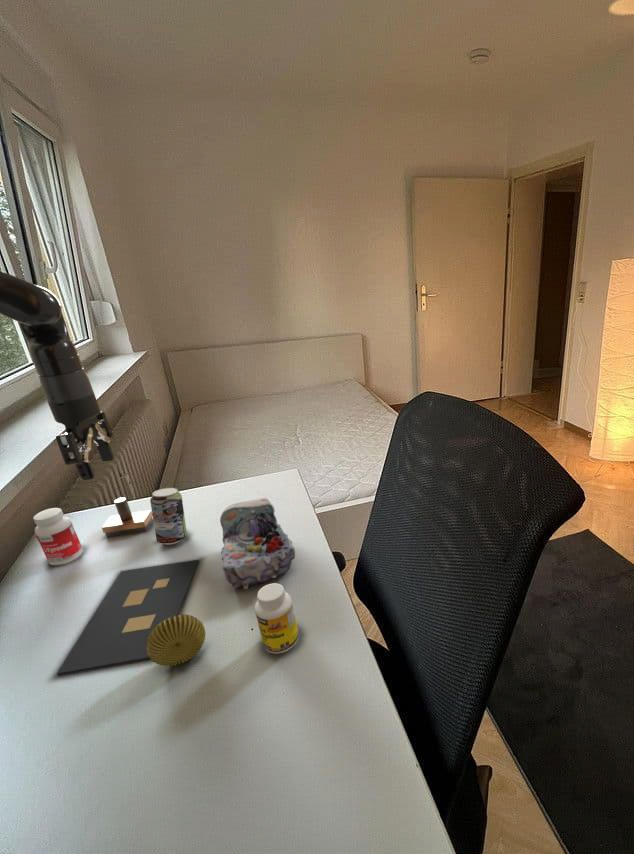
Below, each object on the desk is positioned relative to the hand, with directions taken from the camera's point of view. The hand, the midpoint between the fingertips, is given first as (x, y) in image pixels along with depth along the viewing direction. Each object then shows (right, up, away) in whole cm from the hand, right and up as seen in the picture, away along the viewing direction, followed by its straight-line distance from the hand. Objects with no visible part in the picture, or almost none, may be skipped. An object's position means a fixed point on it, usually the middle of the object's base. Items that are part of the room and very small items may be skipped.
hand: (99, 469), depth 92 cm
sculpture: (+29, -28, -23) cm, 47 cm away
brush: (-1, -15, +12) cm, 19 cm away
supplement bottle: (+44, -27, -21) cm, 55 cm away
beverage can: (+12, -16, +7) cm, 22 cm away
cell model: (+33, -19, -2) cm, 39 cm away
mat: (+16, -25, -13) cm, 32 cm away
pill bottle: (-9, -19, +4) cm, 22 cm away
